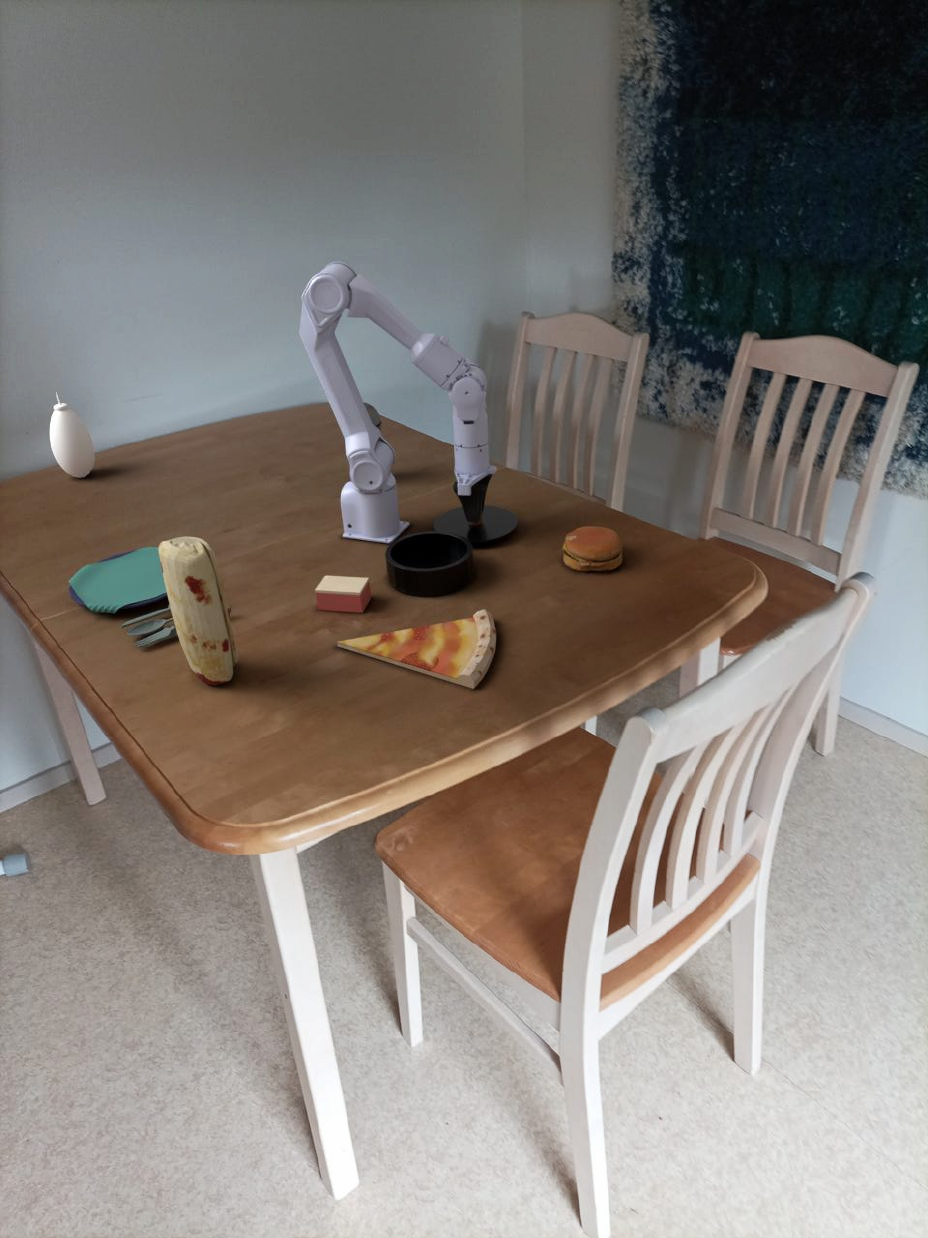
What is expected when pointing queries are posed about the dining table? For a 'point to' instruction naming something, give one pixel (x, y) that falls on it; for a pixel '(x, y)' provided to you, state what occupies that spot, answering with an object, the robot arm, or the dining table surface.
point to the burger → (592, 549)
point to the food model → (199, 607)
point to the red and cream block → (343, 594)
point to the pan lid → (478, 524)
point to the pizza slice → (437, 648)
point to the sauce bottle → (71, 441)
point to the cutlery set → (126, 590)
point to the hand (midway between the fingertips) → (474, 517)
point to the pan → (429, 563)
